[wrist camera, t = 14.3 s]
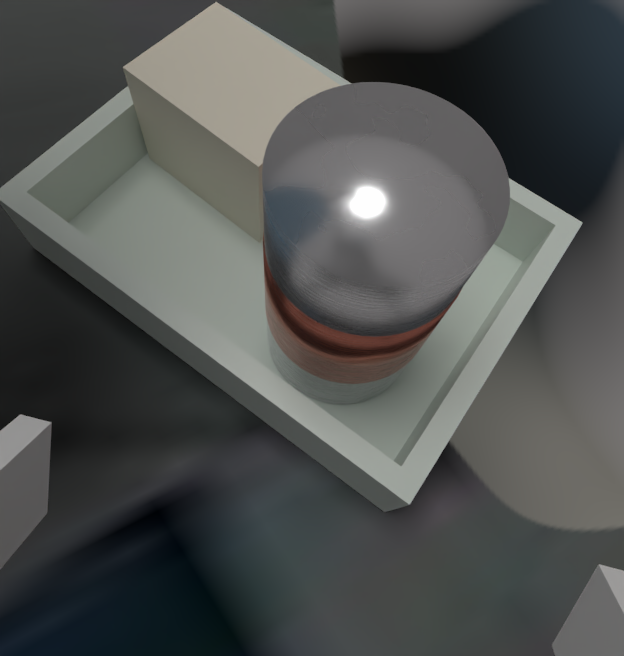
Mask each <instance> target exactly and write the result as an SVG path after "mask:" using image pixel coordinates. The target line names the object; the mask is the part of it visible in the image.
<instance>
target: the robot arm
mask: <svg viewBox="0 0 624 656" xmlns="http://www.w3.org/2000/svg"><path fill="white" fill-rule="evenodd" d="M51 427H52V422H48V421H44V420H40V419H36V418H33V417H29V416H25V415H21V414H20V415H19V416H18V417H16V418H15V419H14V420H13V421H12V422H10V423H9V424H8V425H7V426H6V427H4V428H3V429H2V430H1V431H0V569H1V568H2V567H3V566H4V564H5V563H6V562H7V561H8V560H9V558H10V557H11V556H12V555H13V554H14V552H15V551H16V550H17V549H18V548H19V546H20V545H21V544H22V543H23V542H24V540H25V539H26V538H27V537H28V536H29V534H30V533H31V532H32V531H33V530H34V528H35V527H36V526H37V525H38V524H39V522H40V521H41V520H42V519H43V518H44V516H45V515H46V514H47V510H48V489H49V468H50V448H51ZM552 648H553V651H554V654H555V656H624V571H622V570H618V569H615V568H611V567H607V566H603V565H599V564H598V566H597V568H596V570H595V571H594V573H593V575H592V576H591V578H590V580H589V582H588V583H587V585H586V587H585V589H584V590H583V592H582V594H581V595H580V597H579V599H578V601H577V602H576V604H575V606H574V608H573V609H572V611H571V613H570V614H569V616H568V618H567V620H566V621H565V623H564V625H563V627H562V628H561V630H560V632H559V633H558V635H557V637H556V639H555V640H554V642H553V644H552Z"/></svg>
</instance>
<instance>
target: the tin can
mask: <svg viewBox="0 0 624 656" xmlns="http://www.w3.org/2000/svg"><path fill="white" fill-rule="evenodd" d="M262 185H263V215H264V233H263V258H264V284H265V308H266V317H267V336H268V346H269V350H270V354H271V357H272V360H273V362H274V364H275V366H276V368H277V369H278V371H279V372H280V374H281V375H282V376H283V378H284V379H285V380H286V381H287V382H288V383H289V384H290V385H291V386H292V387H294V388H295V389H296V390H297V391H299V392H301V393H302V394H304V395H305V396H308V397H310V398H312V399H314V400H317V401H321V402H324V403H329V404H339V405H346V404H355V403H360V402H364V401H366V400H369V399H372V398H374V397H376V396H377V395H379V394H381V393H382V392H384V391H385V390H387V389H388V388H389V387H390V386H391V385H392V384H393V383H394V382H395V381H396V379H397V378H398V377H399V376H400V374H401V373H402V371H403V370H404V369H405V367H406V366H407V364H408V363H409V362H410V361H411V360H412V359H413V357H414V356H415V355H416V354H417V352H418V351H419V350H420V348H421V347H422V346H423V344H424V343H425V341H426V340H427V339H428V337H429V336H430V335H431V333H432V332H433V330H434V329H435V328H436V326H437V325H438V323H439V322H440V321H441V319H442V318H443V317H444V315H445V314H446V312H447V311H448V310H449V308H450V307H451V306H452V304H453V303H454V301H455V300H456V299H457V297H458V295H459V293H460V292H461V290H462V288H463V286H464V285H465V283H466V282H467V281H468V279H469V278H470V276H471V275H472V274H473V272H474V271H475V269H476V268H477V267H478V265H479V264H480V262H481V261H482V260H483V258H484V257H485V255H486V254H487V253H488V251H489V250H490V248H491V247H492V246H493V244H494V243H495V241H496V240H497V238H498V236H499V235H500V233H501V231H502V229H503V227H504V224H505V221H506V219H507V216H508V210H509V205H510V186H509V179H508V174H507V171H506V168H505V164H504V162H503V159H502V157H501V155H500V153H499V151H498V149H497V148H496V146H495V145H494V143H493V141H492V140H491V138H490V137H489V136H488V135H487V133H486V132H485V131H484V130H483V129H482V128H481V127H480V126H479V125H478V124H477V123H476V122H475V121H474V120H473V119H472V118H471V117H470V116H468V115H467V114H466V113H465V112H463V111H462V110H461V109H459V108H458V107H456V106H454V105H453V104H451V103H450V102H448V101H446V100H444V99H442V98H440V97H438V96H436V95H433V94H431V93H428V92H426V91H423V90H420V89H417V88H413V87H409V86H405V85H399V84H393V83H382V82H362V83H353V84H346V85H342V86H338V87H334V88H331V89H328V90H325V91H322V92H320V93H318V94H316V95H314V96H312V97H310V98H308V99H306V100H305V101H303V102H302V103H300V104H299V105H297V106H296V107H295V108H294V109H293V110H291V111H290V112H289V113H288V114H287V115H286V116H285V117H284V118H283V120H282V121H281V122H280V123H279V124H278V126H277V127H276V129H275V131H274V132H273V134H272V135H271V138H270V140H269V142H268V145H267V147H266V151H265V155H264V159H263V168H262Z"/></svg>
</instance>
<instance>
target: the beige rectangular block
mask: <svg viewBox="0 0 624 656" xmlns="http://www.w3.org/2000/svg"><path fill="white" fill-rule="evenodd" d="M123 70H124V73H125V77H126V80H127V83H128V87H129V90H130V94H131V97H132V100H133V104H134V107H135V111H136V114H137V117H138V121H139V124H140V127H141V131H142V134H143V138H144V141H145V144H146V148H147V151H148V155H149V158H150V159H151V160H152V161H153V162H155V163H156V164H157V165H159V166H160V167H161V168H163V169H164V170H165V171H166V172H168V173H169V174H170V175H172V176H173V177H174V178H176V179H177V180H178V181H180V182H181V183H182V184H183V185H185V186H186V187H187V188H189V189H190V190H191V191H193V192H194V193H195V194H196V195H198V196H199V197H200V198H202V199H203V200H204V201H206V202H207V203H208V204H209V205H211V206H212V207H213V208H215V209H216V210H217V211H219V212H220V213H221V214H222V215H224V216H225V217H226V218H228V219H229V220H230V221H232V222H233V223H234V224H235V225H237V226H238V227H239V228H241V229H242V230H243V231H245V232H246V233H247V234H248V235H250V236H251V237H252V238H254V239H255V240H256V241H258V242H259V243H260V242H261V241H262V240H263V233H264V215H263V185H262V168H263V159H264V155H265V151H266V147H267V145H268V142H269V140H270V138H271V135H272V134H273V132H274V131H275V129H276V127H277V126H278V124H279V123H280V122H281V121H282V120H283V118H284V117H285V116H286V115H287V114H288V113H289V112H290V111H291V110H293V109H294V108H295V107H296V106H297V105H299V104H300V103H302V102H303V101H305V100H306V99H308V98H310V97H312V96H314V95H316V94H318V93H320V92H322V91H325V90H328V89H331V88H334V87H338V86H341V85H339V84H338V83H336V82H335V81H333V80H332V79H330V78H329V77H327V76H326V75H324V74H323V73H321V72H320V71H318V70H317V69H315V68H314V67H313V66H311V65H310V64H308V63H307V62H305V61H304V60H302V59H301V58H299V57H298V56H296V55H295V54H293V53H292V52H290V51H289V50H287V49H286V48H284V47H283V46H281V45H280V44H278V43H277V42H275V41H274V40H272V39H271V38H269V37H268V36H266V35H265V34H263V33H262V32H260V31H259V30H257V29H256V28H254V27H253V26H251V25H250V24H248V23H247V22H245V21H244V20H243V19H241V18H240V17H238V16H237V15H235V14H234V13H232V12H231V11H229V10H228V9H226V8H225V7H223V6H222V5H220V4H219V3H217V2H215V3H214V4H213V5H211V6H210V7H208V8H207V9H205V10H204V11H203V12H201V13H200V14H198V15H197V16H195V17H194V18H193V19H191V20H190V21H188V22H187V23H185V24H184V25H183V26H181V27H180V28H178V29H177V30H175V31H174V32H172V33H171V34H170V35H168V36H167V37H165V38H164V39H162V40H161V41H160V42H158V43H157V44H155V45H154V46H152V47H151V48H150V49H148V50H147V51H145V52H144V53H142V54H141V55H140V56H138V57H137V58H135V59H134V60H132V61H131V62H130V63H128V64H127V65H125V66H124V67H123Z"/></svg>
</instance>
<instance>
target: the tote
mask: <svg viewBox="0 0 624 656" xmlns="http://www.w3.org/2000/svg"><path fill="white" fill-rule="evenodd" d="M226 9H227V8H226ZM228 10H229V9H228ZM229 11H230V10H229ZM231 12H232V11H231ZM232 13H234V12H232ZM234 14H235V13H234ZM235 15H237V14H235ZM237 16H238V17H240V16H239V15H237ZM240 18H241V19H243V20H244V21H245V22H247V23H248V24H250V25H251V26H253V27H254V28H256V29H257V30H259V31H260V32H262V33H263V34H265V35H266V36H268V37H269V38H271V39H272V40H274V41H275V42H277V43H278V44H280V45H281V46H283V47H284V48H286V49H287V50H289V51H290V52H292V53H293V54H295V55H296V56H298V57H299V58H301V59H302V60H304V61H305V62H307V63H308V64H310V65H311V66H313V67H314V68H315V69H317V70H318V71H320V72H321V73H323V74H324V75H326V76H327V77H329V78H330V79H332V80H333V81H335V82H336V83H338V84H339V85H341V86H342V85H346V84H351V83H350V82H348V81H347V80H345V79H343V78H342V77H340V76H338V75H337V74H335V73H333V72H332V71H330V70H328V69H327V68H325V67H323V66H322V65H320V64H318V63H317V62H315V61H313V60H312V59H310V58H308V57H307V56H305V55H303V54H302V53H300V52H298V51H297V50H295V49H293V48H292V47H290V46H288V45H287V44H285V43H283V42H282V41H280V40H278V39H277V38H275V37H273V36H272V35H270V34H268V33H267V32H265V31H264V30H262V29H260V28H259V27H257V26H255V25H254V24H252V23H250V22H249V21H247V20H245V19H244V18H242V17H240ZM508 179H509V178H508ZM509 186H510V205H509V210H508V216H507V219H506V221H505V224H504V227H503V229H502V231H501V233H500V235H499V236H498V238H497V240H496V241H495V243H494V244H493V246H492V247H491V248H490V250H489V251H488V253H487V254H486V255H485V257H484V258H483V260H482V261H481V262H480V264H479V265H478V267H477V268H476V269H475V271H474V272H473V274H472V275H471V276H470V278H469V279H468V281H467V282H466V283H465V285H464V286H463V288H462V290H461V292H460V293H459V295H458V297H457V299H456V300H455V301H454V303H453V304H452V306H451V307H450V308H449V310H448V311H447V312H446V314H445V315H444V317H443V318H442V319H441V321H440V322H439V323H438V325H437V326H436V328H435V329H434V330H433V332H432V333H431V335H430V336H429V337H428V339H427V340H426V341H425V343H424V344H423V346H422V347H421V348H420V350H419V351H418V352H417V354H416V355H415V356H414V357H413V359H412V360H411V361H410V362H409V363H408V364H407V366H406V367H405V369H404V370H403V371H402V373H401V374H400V376H399V377H398V378H397V379H396V381H395V382H394V383H393V384H392V385H391V386H390V387H389V388H388V389H387V390H385V391H384V392H382V393H381V394H379V395H377V396H376V397H374V398H372V399H369V400H366V401H364V402H360V403H355V404H346V405H339V404H329V403H324V402H321V401H317V400H314V399H312V398H310V397H308V396H305V395H304V394H302V393H301V392H299V391H297V390H296V389H295V388H294V387H292V386H291V385H290V384H289V383H288V382H287V381H286V380H285V379H284V378H283V376H282V375H281V374H280V372H279V371H278V369H277V368H276V366H275V364H274V362H273V360H272V357H271V354H270V350H269V346H268V336H267V317H266V308H265V284H264V258H263V240H262V241H261V242H260V243H259V242H258V241H256V240H255V239H254V238H252V237H251V236H250V235H248V234H247V233H246V232H245V231H243V230H242V229H241V228H239V227H238V226H237V225H235V224H234V223H233V222H232V221H230V220H229V219H228V218H226V217H225V216H224V215H222V214H221V213H220V212H219V211H217V210H216V209H215V208H213V207H212V206H211V205H209V204H208V203H207V202H206V201H204V200H203V199H202V198H200V197H199V196H198V195H196V194H195V193H194V192H193V191H191V190H190V189H189V188H187V187H186V186H185V185H183V184H182V183H181V182H180V181H178V180H177V179H176V178H174V177H173V176H172V175H170V174H169V173H168V172H166V171H165V170H164V169H163V168H161V167H160V166H159V165H157V164H156V163H155V162H153V161H152V160H151V159H150V158H149V155H148V151H147V148H146V144H145V141H144V138H143V134H142V131H141V127H140V124H139V121H138V117H137V114H136V111H135V107H134V104H133V100H132V97H131V94H130V90H129V87H128V86H127V87H126V88H125V89H123V90H122V91H121V92H120V93H118V94H117V95H116V96H115V97H113V98H112V99H111V100H110V101H108V102H107V103H106V104H105V105H103V106H102V107H101V108H100V109H98V110H97V111H96V112H95V113H93V114H92V115H91V116H90V117H88V118H87V119H86V120H85V121H83V122H82V123H81V124H80V125H78V126H77V127H76V128H75V129H73V130H72V131H71V132H70V133H68V134H67V135H66V136H65V137H63V138H62V139H61V140H60V141H58V142H57V143H56V144H55V145H53V146H52V147H51V148H50V149H48V150H47V151H46V152H45V153H43V154H42V155H41V156H40V157H38V158H37V159H36V160H35V161H33V162H32V163H31V164H30V165H28V166H27V167H26V168H25V169H23V170H22V171H21V172H20V173H18V174H17V175H16V176H15V177H13V178H12V179H11V180H10V181H9V182H7V183H6V184H5V185H4V186H2V187H1V188H0V205H1V206H2V208H3V209H4V210H5V211H6V213H7V214H8V215H9V217H10V218H11V219H12V221H13V222H14V223H15V224H16V226H17V227H18V228H19V230H20V231H21V232H22V234H23V235H24V236H25V237H26V239H27V240H28V241H29V243H30V244H31V245H32V247H33V248H35V249H36V250H37V251H39V252H40V253H41V254H43V255H44V256H45V257H46V258H48V259H49V260H50V261H52V262H53V263H54V264H56V265H57V266H58V267H60V268H61V269H62V270H64V271H65V272H66V273H68V274H69V275H70V276H72V277H73V278H74V279H76V280H77V281H78V282H80V283H81V284H82V285H84V286H85V287H86V288H88V289H89V290H90V291H92V292H93V293H94V294H96V295H97V296H98V297H100V298H101V299H102V300H104V301H105V302H106V303H108V304H109V305H110V306H111V307H113V308H114V309H115V310H117V311H118V312H119V313H121V314H122V315H123V316H125V317H126V318H127V319H129V320H130V321H131V322H133V323H134V324H135V325H137V326H138V327H139V328H141V329H142V330H143V331H145V332H146V333H147V334H149V335H150V336H151V337H153V338H154V339H155V340H157V341H158V342H159V343H161V344H162V345H163V346H165V347H166V348H167V349H169V350H170V351H171V352H173V353H174V354H175V355H176V356H178V357H179V358H180V359H182V360H183V361H184V362H186V363H187V364H188V365H190V366H191V367H192V368H194V369H195V370H196V371H198V372H199V373H200V374H202V375H203V376H204V377H206V378H207V379H208V380H210V381H211V382H212V383H214V384H215V385H216V386H218V387H219V388H220V389H222V390H223V391H224V392H226V393H227V394H228V395H230V396H231V397H232V398H234V399H235V400H236V401H237V402H239V403H240V404H241V405H243V406H244V407H245V408H247V409H248V410H249V411H251V412H252V413H253V414H255V415H256V416H257V417H259V418H260V419H261V420H263V421H264V422H265V423H267V424H268V425H269V426H271V427H272V428H273V429H275V430H276V431H277V432H279V433H280V434H281V435H283V436H284V437H285V438H287V439H288V440H289V441H291V442H292V443H293V444H295V445H296V446H297V447H299V448H300V449H301V450H302V451H304V452H305V453H306V454H308V455H309V456H310V457H312V458H313V459H314V460H316V461H317V462H318V463H320V464H321V465H322V466H324V467H325V468H326V469H328V470H329V471H330V472H332V473H333V474H334V475H336V476H337V477H338V478H340V479H341V480H342V481H344V482H345V483H346V484H348V485H349V486H350V487H352V488H353V489H354V490H356V491H357V492H358V493H360V494H361V495H362V496H364V497H365V498H366V499H367V500H369V501H370V502H371V503H373V504H374V505H375V506H377V507H378V508H379V509H381V510H382V511H383V512H387V511H391V510H394V509H397V508H401V507H404V506H408V505H410V503H411V502H412V500H413V499H414V497H415V495H416V494H417V492H418V490H419V489H420V487H421V486H422V484H423V482H424V481H425V479H426V477H427V476H428V474H429V473H430V471H431V469H432V468H433V466H434V464H435V463H436V461H437V459H438V458H439V456H440V455H441V453H442V451H443V450H444V448H445V446H446V445H447V443H448V442H449V440H450V438H451V437H452V435H453V433H454V432H455V430H456V429H457V427H458V425H459V424H460V422H461V420H462V419H463V417H464V415H465V414H466V412H467V411H468V409H469V407H470V406H471V404H472V402H473V401H474V399H475V397H476V396H477V394H478V393H479V391H480V389H481V388H482V386H483V384H484V383H485V381H486V379H487V378H488V376H489V375H490V373H491V371H492V370H493V368H494V367H495V365H496V363H497V362H498V360H499V358H500V357H501V355H502V353H503V352H504V350H505V349H506V347H507V345H508V344H509V342H510V340H511V339H512V337H513V336H514V334H515V332H516V331H517V329H518V327H519V326H520V324H521V323H522V321H523V319H524V317H525V316H526V314H527V313H528V311H529V309H530V307H531V306H532V305H533V303H534V301H535V300H536V298H537V296H538V295H539V293H540V292H541V290H542V288H543V286H544V285H545V283H546V282H547V280H548V279H549V277H550V275H551V274H552V272H553V270H554V269H555V267H556V265H557V264H558V262H559V261H560V259H561V257H562V256H563V254H564V252H565V250H566V249H567V247H568V246H569V244H570V243H571V241H572V239H573V238H574V236H575V235H576V233H577V231H578V229H579V228H580V226H581V224H582V222H581V221H579V220H577V219H576V218H574V217H572V216H571V215H569V214H567V213H566V212H564V211H562V210H561V209H559V208H557V207H556V206H554V205H552V204H551V203H549V202H547V201H546V200H544V199H542V198H541V197H539V196H537V195H536V194H534V193H532V192H531V191H529V190H527V189H526V188H524V187H523V186H521V185H519V184H518V183H516V182H514V181H513V180H511V179H509Z"/></svg>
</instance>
